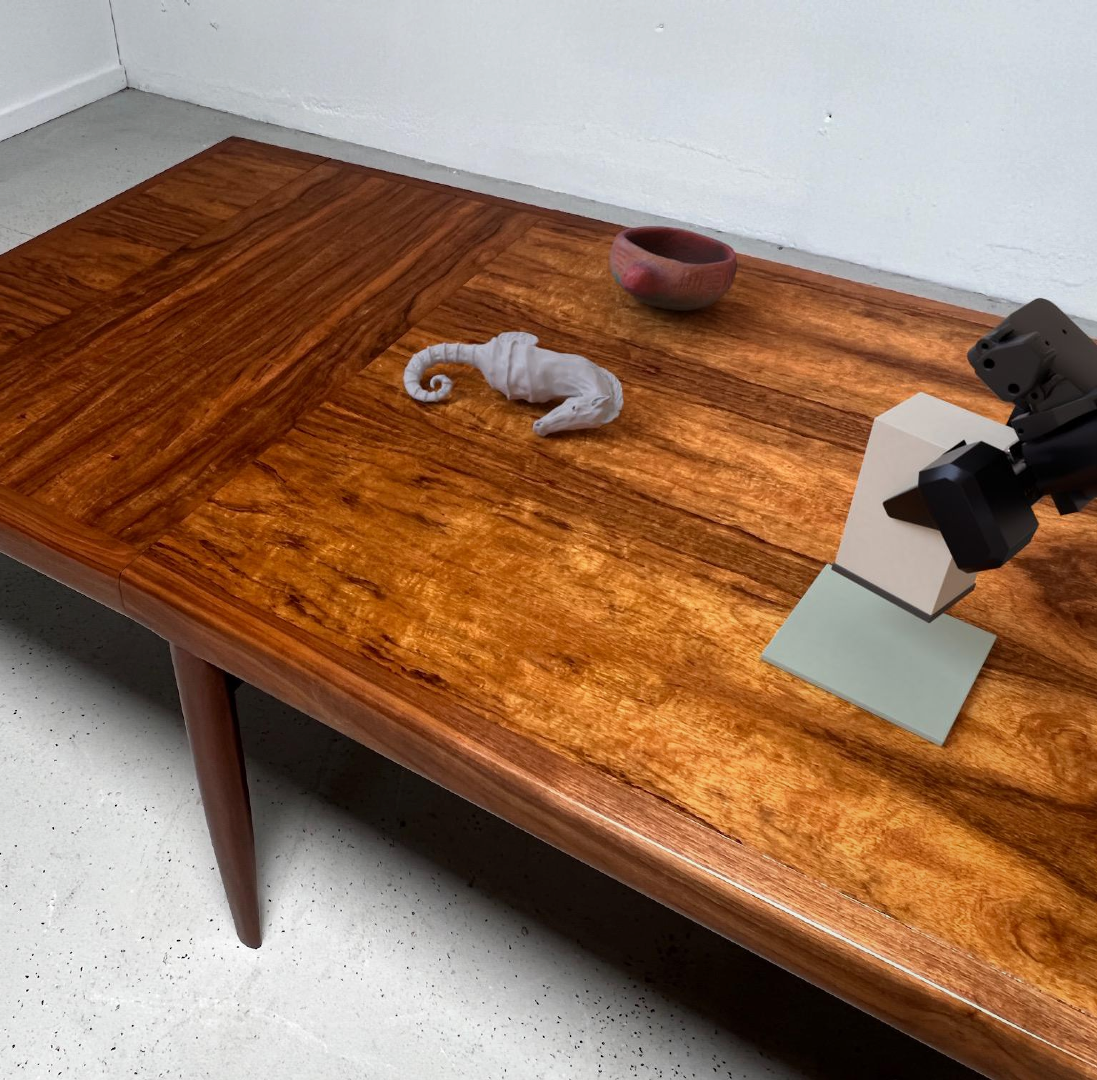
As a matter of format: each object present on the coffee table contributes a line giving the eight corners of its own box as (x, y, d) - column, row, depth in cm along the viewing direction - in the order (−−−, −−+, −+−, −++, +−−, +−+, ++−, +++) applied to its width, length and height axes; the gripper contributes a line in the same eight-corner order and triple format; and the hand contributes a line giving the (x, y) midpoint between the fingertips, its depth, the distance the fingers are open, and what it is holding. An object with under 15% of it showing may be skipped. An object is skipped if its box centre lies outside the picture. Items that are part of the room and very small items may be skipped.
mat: (994, 640, 73) (997, 635, 73) (941, 747, 66) (943, 742, 66) (825, 568, 79) (827, 563, 79) (759, 658, 72) (761, 653, 72)
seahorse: (388, 414, 93) (622, 414, 88) (406, 315, 98) (627, 310, 93) (398, 449, 97) (622, 450, 92) (416, 352, 103) (627, 349, 98)
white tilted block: (875, 540, 75) (920, 390, 67) (974, 591, 70) (1034, 435, 63) (830, 569, 72) (872, 417, 65) (930, 624, 67) (986, 467, 60)
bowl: (600, 272, 116) (611, 202, 111) (719, 279, 115) (735, 208, 110) (607, 345, 104) (619, 270, 99) (740, 353, 103) (759, 278, 98)
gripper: (1186, 233, 59) (931, 335, 72) (1024, 336, 49) (768, 430, 63) (1270, 414, 59) (1000, 481, 72) (1125, 549, 50) (848, 597, 63)
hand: (909, 492), depth 68 cm, fingers closed on white tilted block, 5 cm apart
